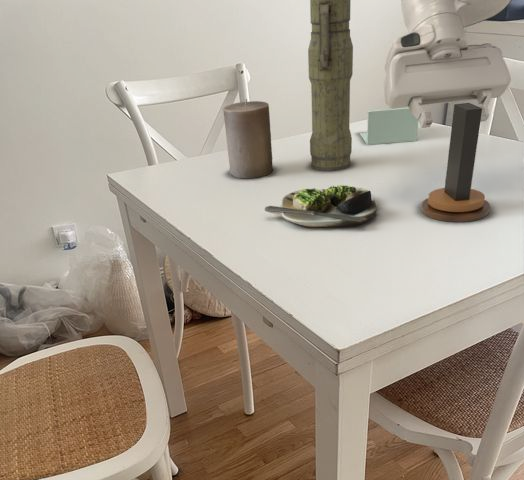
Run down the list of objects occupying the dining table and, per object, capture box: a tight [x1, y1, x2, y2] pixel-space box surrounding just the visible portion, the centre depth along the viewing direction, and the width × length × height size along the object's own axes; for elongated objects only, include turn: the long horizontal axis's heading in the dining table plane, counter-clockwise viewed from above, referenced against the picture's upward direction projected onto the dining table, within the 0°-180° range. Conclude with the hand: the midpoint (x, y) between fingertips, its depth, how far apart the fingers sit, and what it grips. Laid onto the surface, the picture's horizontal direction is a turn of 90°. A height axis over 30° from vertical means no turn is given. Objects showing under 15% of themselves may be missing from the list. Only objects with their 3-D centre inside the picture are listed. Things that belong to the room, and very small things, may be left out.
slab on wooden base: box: [427, 102, 486, 212], centre depth 87 cm, size 9×9×15 cm
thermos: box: [307, 0, 354, 172], centre depth 109 cm, size 9×12×35 cm
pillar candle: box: [222, 98, 274, 179], centre depth 115 cm, size 10×10×15 cm
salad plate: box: [264, 184, 378, 228], centre depth 94 cm, size 19×18×5 cm
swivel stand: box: [420, 197, 491, 223], centre depth 92 cm, size 11×11×1 cm
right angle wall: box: [359, 107, 419, 146], centre depth 134 cm, size 12×12×8 cm
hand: (454, 122), depth 88 cm, fingers open, 8 cm apart
